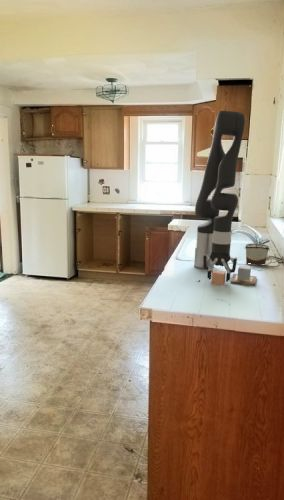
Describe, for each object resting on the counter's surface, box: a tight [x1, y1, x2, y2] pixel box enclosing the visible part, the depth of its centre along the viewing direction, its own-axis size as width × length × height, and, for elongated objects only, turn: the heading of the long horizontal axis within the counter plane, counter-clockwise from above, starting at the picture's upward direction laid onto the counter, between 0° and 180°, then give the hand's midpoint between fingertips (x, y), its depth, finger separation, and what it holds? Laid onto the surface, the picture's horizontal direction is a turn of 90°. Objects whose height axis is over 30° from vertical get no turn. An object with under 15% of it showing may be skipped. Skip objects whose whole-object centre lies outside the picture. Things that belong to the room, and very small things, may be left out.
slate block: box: [237, 265, 252, 281], centre depth 162 cm, size 5×5×5 cm
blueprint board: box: [230, 273, 257, 287], centre depth 163 cm, size 10×12×1 cm
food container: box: [244, 243, 271, 265], centre depth 193 cm, size 12×6×10 cm, turn 84°
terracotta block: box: [210, 269, 227, 286], centre depth 158 cm, size 5×5×5 cm
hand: (218, 280), depth 158 cm, fingers open, 6 cm apart
